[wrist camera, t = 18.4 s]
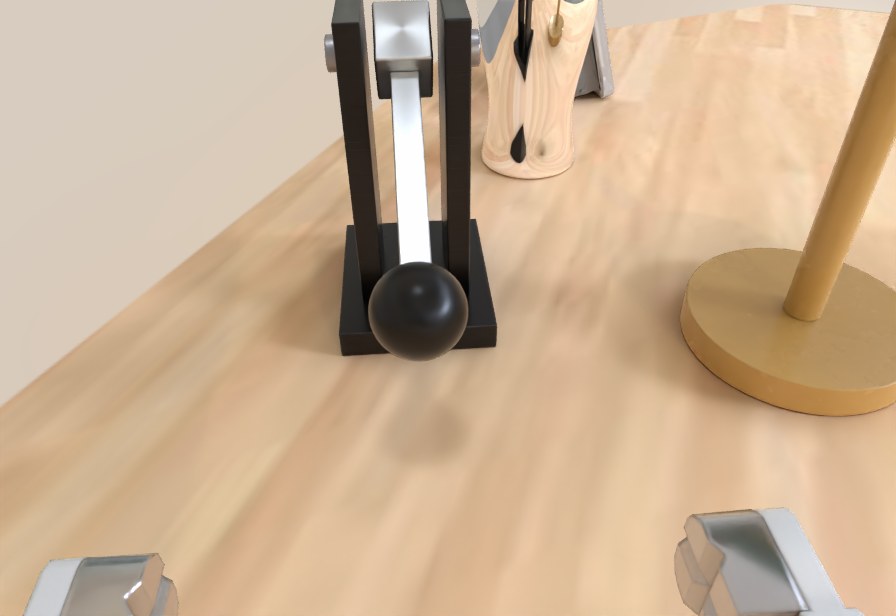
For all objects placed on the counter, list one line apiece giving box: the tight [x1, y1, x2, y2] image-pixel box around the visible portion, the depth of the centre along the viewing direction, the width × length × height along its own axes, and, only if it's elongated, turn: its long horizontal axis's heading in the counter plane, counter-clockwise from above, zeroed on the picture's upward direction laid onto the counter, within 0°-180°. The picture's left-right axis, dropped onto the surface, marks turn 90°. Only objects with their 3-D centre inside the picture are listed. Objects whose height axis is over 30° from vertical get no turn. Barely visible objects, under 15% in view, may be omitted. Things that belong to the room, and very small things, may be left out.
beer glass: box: [477, 0, 599, 179], centre depth 42 cm, size 7×7×15 cm
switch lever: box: [368, 0, 468, 361], centre depth 26 cm, size 14×3×3 cm, turn 5°
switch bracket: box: [324, 0, 497, 356], centre depth 31 cm, size 9×7×14 cm
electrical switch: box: [574, 0, 614, 98], centre depth 54 cm, size 9×5×9 cm, turn 15°
